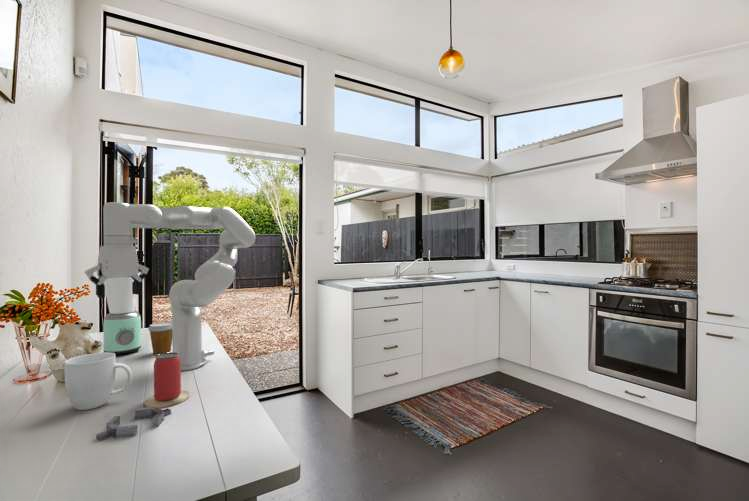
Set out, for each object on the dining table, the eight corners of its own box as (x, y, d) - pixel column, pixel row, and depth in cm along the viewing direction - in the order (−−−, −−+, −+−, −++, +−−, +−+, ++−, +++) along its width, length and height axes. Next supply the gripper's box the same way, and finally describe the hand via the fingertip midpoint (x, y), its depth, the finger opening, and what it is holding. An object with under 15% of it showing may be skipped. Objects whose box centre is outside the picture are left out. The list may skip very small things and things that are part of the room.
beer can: (153, 404, 96) (153, 360, 96) (154, 395, 102) (154, 354, 102) (181, 398, 100) (180, 356, 100) (180, 391, 105) (180, 350, 105)
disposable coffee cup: (160, 349, 154) (159, 321, 154) (180, 350, 152) (179, 322, 152) (142, 355, 144) (142, 326, 144) (164, 356, 143) (163, 326, 143)
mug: (135, 391, 107) (134, 348, 107) (128, 406, 97) (128, 358, 97) (72, 401, 100) (71, 355, 100) (58, 417, 90) (57, 366, 90)
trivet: (176, 389, 108) (176, 387, 108) (197, 396, 102) (197, 394, 102) (136, 402, 99) (136, 400, 99) (157, 411, 93) (157, 409, 93)
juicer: (146, 353, 148) (145, 269, 148) (106, 360, 139) (105, 270, 139) (136, 344, 162) (135, 268, 162) (99, 350, 153) (98, 269, 153)
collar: (159, 408, 95) (158, 400, 95) (180, 417, 90) (180, 409, 90) (88, 433, 82) (88, 425, 82) (107, 446, 76) (107, 437, 76)
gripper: (142, 242, 122) (142, 292, 122) (80, 241, 107) (80, 298, 107) (153, 242, 118) (154, 293, 118) (90, 241, 103) (91, 300, 103)
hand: (119, 295), depth 112 cm, fingers open, 9 cm apart
